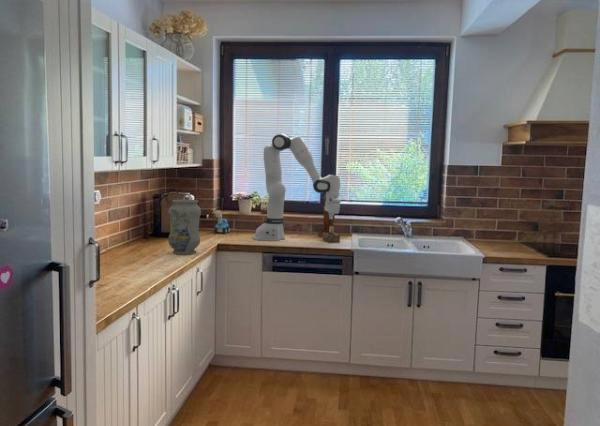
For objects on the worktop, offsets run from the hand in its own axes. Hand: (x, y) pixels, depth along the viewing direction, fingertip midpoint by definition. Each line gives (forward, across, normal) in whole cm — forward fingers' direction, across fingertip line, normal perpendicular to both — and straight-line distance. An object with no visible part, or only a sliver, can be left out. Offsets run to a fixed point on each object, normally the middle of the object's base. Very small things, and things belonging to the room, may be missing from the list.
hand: (330, 219), depth 336 cm
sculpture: (+15, -19, +4) cm, 25 cm away
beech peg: (+15, 0, +1) cm, 15 cm away
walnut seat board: (+15, 0, +1) cm, 15 cm away
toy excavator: (+18, -40, -69) cm, 81 cm away
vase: (+19, +31, -97) cm, 104 cm away
